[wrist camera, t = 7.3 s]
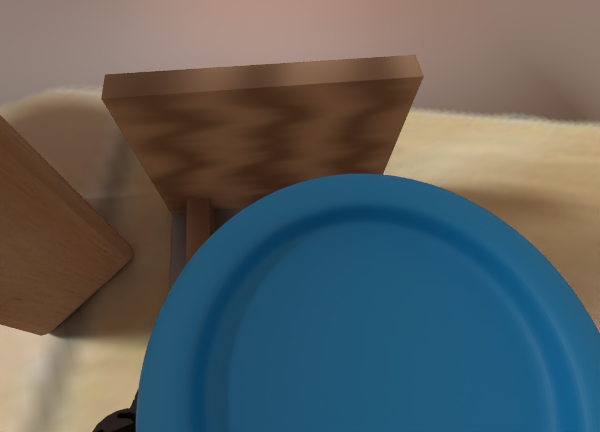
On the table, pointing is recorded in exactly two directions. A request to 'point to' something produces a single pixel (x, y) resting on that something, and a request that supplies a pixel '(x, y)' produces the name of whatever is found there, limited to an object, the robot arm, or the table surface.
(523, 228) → the table surface
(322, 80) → the backstop holder
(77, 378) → the table surface
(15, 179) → the wooden block
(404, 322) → the beverage bottle
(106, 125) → the table surface
